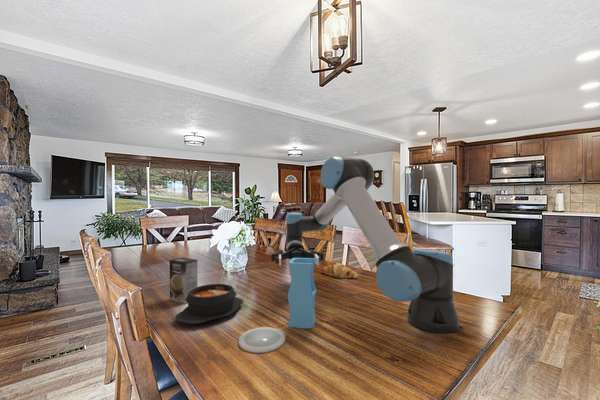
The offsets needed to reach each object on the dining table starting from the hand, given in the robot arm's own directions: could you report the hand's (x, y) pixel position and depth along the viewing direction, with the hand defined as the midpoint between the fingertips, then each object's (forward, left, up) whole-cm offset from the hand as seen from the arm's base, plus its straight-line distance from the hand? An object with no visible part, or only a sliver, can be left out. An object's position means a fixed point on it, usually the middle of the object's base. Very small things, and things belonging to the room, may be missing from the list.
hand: (299, 262), depth 102 cm
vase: (-9, +5, -17) cm, 20 cm away
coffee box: (+35, +32, -17) cm, 50 cm away
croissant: (+25, -41, -18) cm, 51 cm away
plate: (-12, +21, -17) cm, 30 cm away
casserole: (+15, +27, -18) cm, 35 cm away
